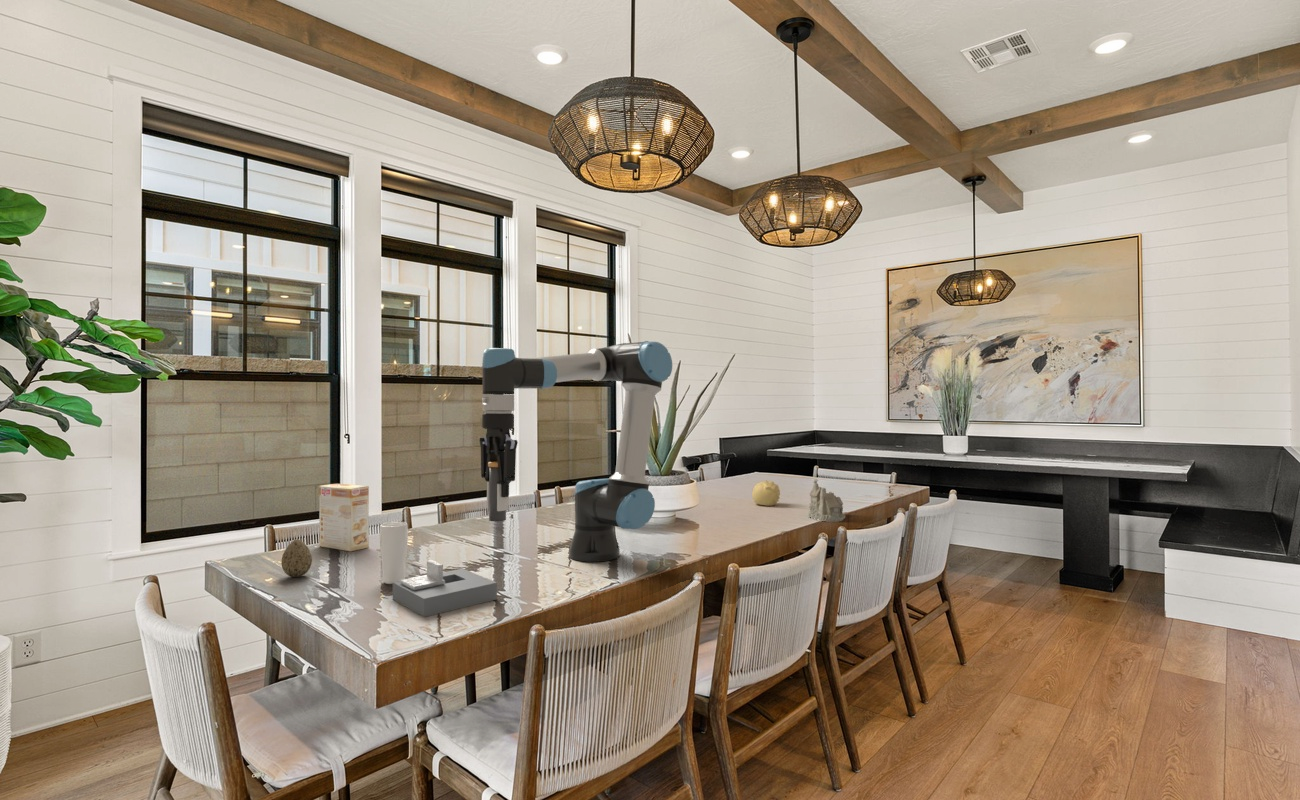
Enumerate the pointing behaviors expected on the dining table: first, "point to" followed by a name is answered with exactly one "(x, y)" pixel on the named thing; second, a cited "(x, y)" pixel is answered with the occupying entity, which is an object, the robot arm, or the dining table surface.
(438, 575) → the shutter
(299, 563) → the decorative egg
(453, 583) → the socket block
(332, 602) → the dining table surface
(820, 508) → the ceramic cottage
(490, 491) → the plug
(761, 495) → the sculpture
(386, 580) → the drinking glass
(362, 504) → the coffeecake box
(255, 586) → the dining table surface
